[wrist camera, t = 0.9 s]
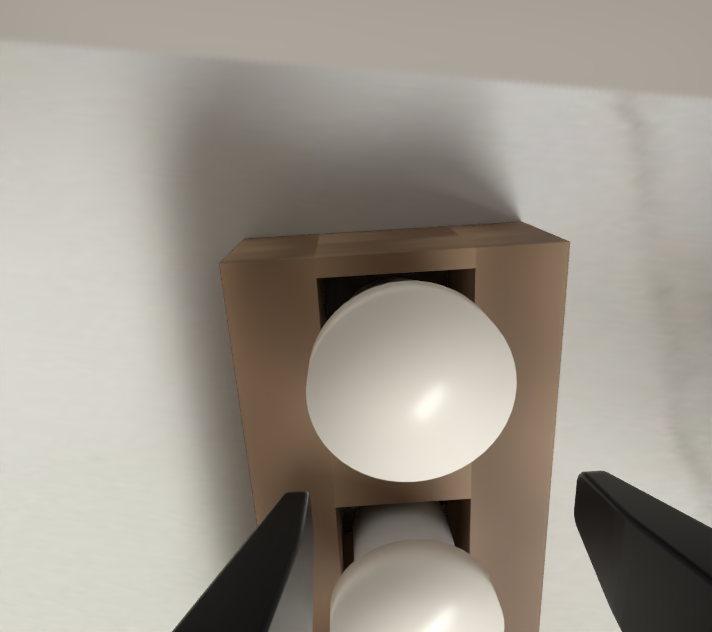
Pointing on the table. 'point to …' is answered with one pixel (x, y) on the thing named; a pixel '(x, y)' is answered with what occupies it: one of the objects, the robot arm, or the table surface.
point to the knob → (409, 381)
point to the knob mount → (352, 488)
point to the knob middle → (411, 576)
